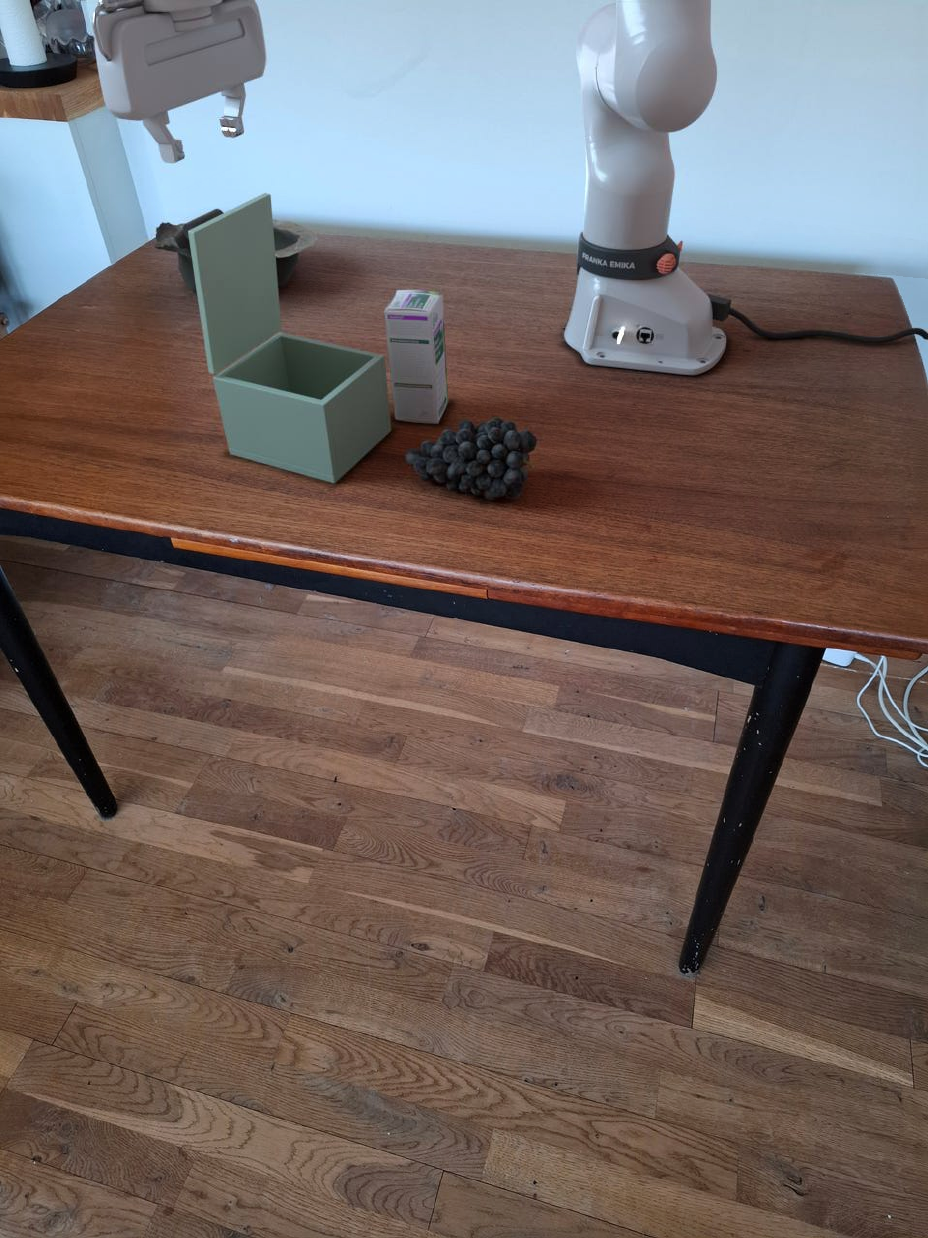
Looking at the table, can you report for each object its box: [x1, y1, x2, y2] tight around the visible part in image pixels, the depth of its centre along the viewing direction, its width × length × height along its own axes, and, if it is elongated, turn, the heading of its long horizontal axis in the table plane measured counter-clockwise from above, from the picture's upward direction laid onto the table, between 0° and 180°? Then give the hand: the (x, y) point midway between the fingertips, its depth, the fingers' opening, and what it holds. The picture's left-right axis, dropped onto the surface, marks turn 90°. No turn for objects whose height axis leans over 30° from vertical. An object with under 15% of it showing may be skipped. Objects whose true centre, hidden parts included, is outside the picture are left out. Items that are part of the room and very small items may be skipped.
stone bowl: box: [153, 218, 319, 294], centre depth 142 cm, size 25×25×9 cm
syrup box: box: [383, 289, 449, 425], centre depth 107 cm, size 6×6×14 cm
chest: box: [212, 331, 392, 484], centre depth 104 cm, size 15×13×10 cm
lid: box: [182, 192, 282, 375], centre depth 98 cm, size 16×13×5 cm
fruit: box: [405, 416, 538, 501], centre depth 97 cm, size 9×8×15 cm
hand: (205, 147), depth 90 cm, fingers open, 8 cm apart
